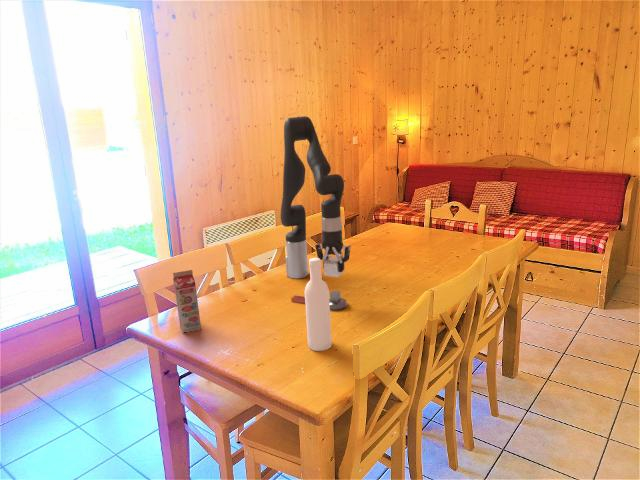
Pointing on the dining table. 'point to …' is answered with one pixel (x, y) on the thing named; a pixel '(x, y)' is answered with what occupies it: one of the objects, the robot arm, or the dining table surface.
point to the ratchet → (335, 300)
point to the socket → (332, 267)
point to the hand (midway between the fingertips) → (334, 270)
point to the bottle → (317, 309)
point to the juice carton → (187, 301)
